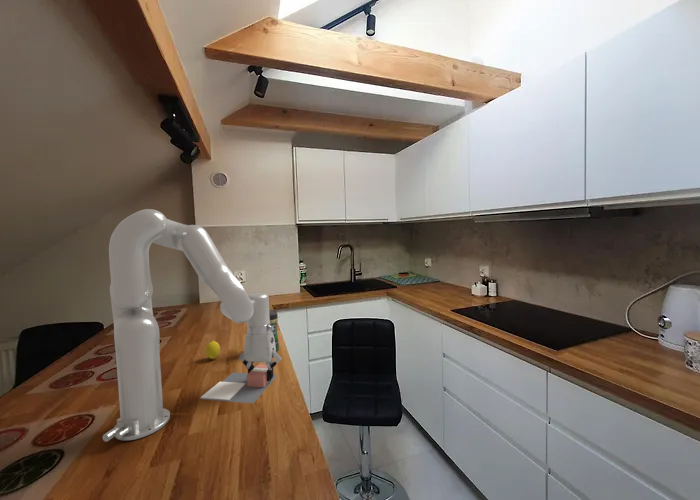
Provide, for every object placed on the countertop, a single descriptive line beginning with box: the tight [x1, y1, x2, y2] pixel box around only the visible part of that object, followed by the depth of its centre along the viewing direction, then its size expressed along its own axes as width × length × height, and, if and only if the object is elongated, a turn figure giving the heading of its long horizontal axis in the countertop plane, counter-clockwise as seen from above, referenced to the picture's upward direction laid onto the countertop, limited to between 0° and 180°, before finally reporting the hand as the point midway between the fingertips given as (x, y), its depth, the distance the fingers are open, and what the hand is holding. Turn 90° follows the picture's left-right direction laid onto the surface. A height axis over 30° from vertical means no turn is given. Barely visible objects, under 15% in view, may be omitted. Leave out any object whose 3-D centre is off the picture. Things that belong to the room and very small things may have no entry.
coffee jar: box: [269, 309, 280, 353], centre depth 129 cm, size 10×8×19 cm
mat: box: [201, 371, 278, 404], centre depth 99 cm, size 18×18×1 cm
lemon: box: [205, 340, 221, 360], centre depth 123 cm, size 6×6×8 cm
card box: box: [247, 364, 275, 387], centre depth 102 cm, size 8×6×4 cm
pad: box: [200, 381, 246, 401], centre depth 96 cm, size 10×10×1 cm
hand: (260, 378), depth 102 cm, fingers closed on card box, 6 cm apart
